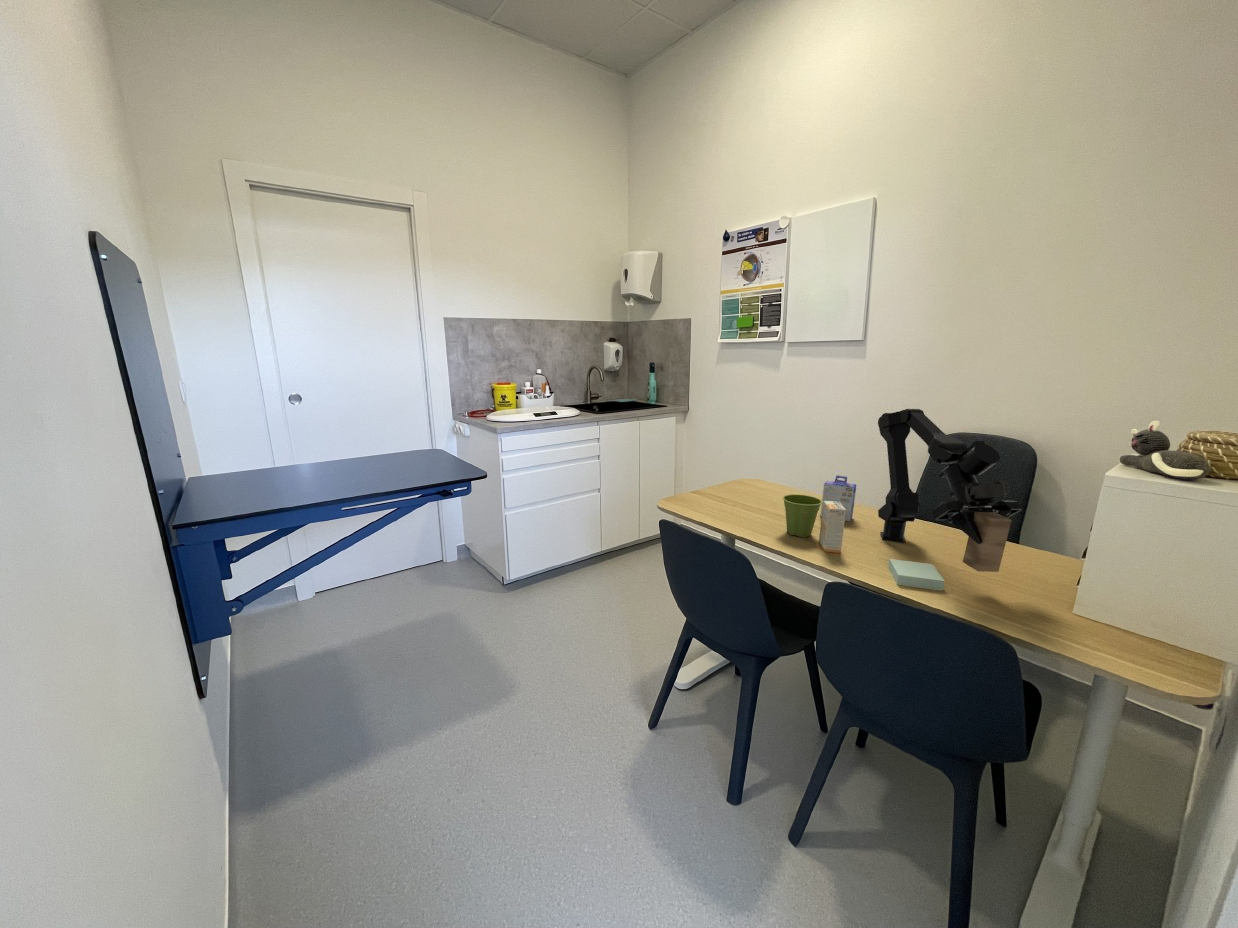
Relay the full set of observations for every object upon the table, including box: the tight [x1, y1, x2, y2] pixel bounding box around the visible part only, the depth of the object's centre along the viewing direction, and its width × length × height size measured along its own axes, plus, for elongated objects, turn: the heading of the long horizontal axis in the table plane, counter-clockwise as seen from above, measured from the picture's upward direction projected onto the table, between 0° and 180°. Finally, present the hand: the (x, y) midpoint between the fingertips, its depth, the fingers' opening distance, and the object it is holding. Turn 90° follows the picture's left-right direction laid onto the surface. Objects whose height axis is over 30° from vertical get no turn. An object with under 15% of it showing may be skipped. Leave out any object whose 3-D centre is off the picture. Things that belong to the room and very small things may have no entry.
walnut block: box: [962, 512, 1012, 573], centre depth 115 cm, size 5×5×13 cm
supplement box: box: [818, 501, 846, 554], centre depth 142 cm, size 8×5×13 cm, turn 168°
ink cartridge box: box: [819, 474, 857, 522], centre depth 168 cm, size 10×6×14 cm, turn 58°
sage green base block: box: [887, 558, 946, 591], centre depth 124 cm, size 10×10×3 cm
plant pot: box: [781, 493, 823, 538], centre depth 153 cm, size 12×12×11 cm
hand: (991, 543), depth 114 cm, fingers closed on walnut block, 5 cm apart
